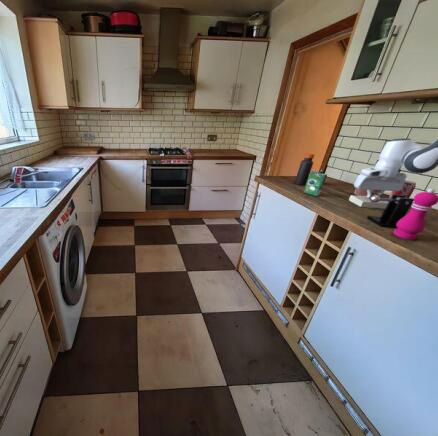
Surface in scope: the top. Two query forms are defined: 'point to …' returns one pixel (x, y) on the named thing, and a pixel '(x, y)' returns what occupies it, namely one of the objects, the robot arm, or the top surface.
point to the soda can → (405, 189)
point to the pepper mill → (416, 215)
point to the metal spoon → (383, 199)
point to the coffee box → (315, 183)
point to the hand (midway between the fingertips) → (372, 197)
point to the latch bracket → (393, 212)
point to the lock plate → (367, 202)
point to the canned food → (363, 192)
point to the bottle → (304, 170)
